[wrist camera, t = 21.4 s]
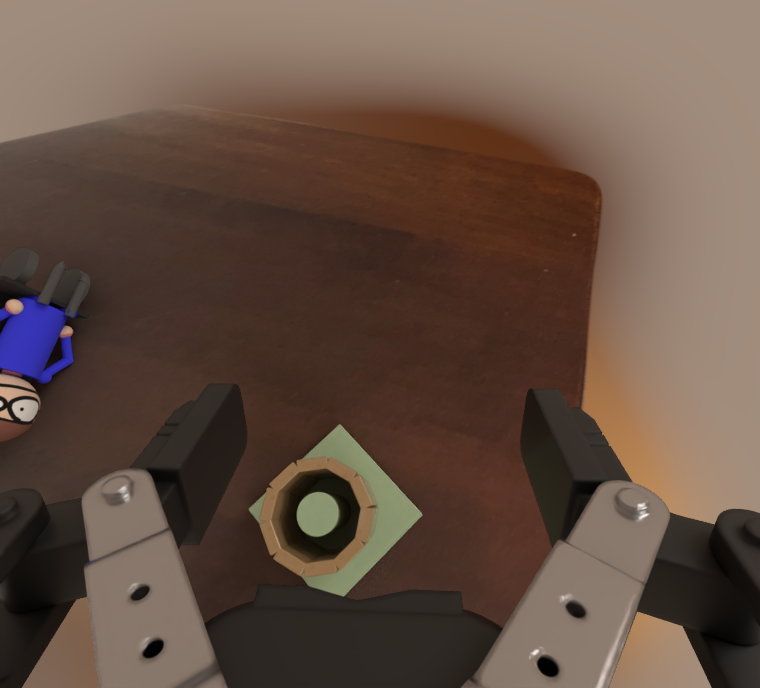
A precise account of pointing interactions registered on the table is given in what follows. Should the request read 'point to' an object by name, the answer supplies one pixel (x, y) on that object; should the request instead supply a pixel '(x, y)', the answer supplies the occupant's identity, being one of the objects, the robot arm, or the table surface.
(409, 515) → the stand
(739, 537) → the robot arm
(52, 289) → the character figurine
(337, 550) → the tan hollow cylinder
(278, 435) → the table surface
